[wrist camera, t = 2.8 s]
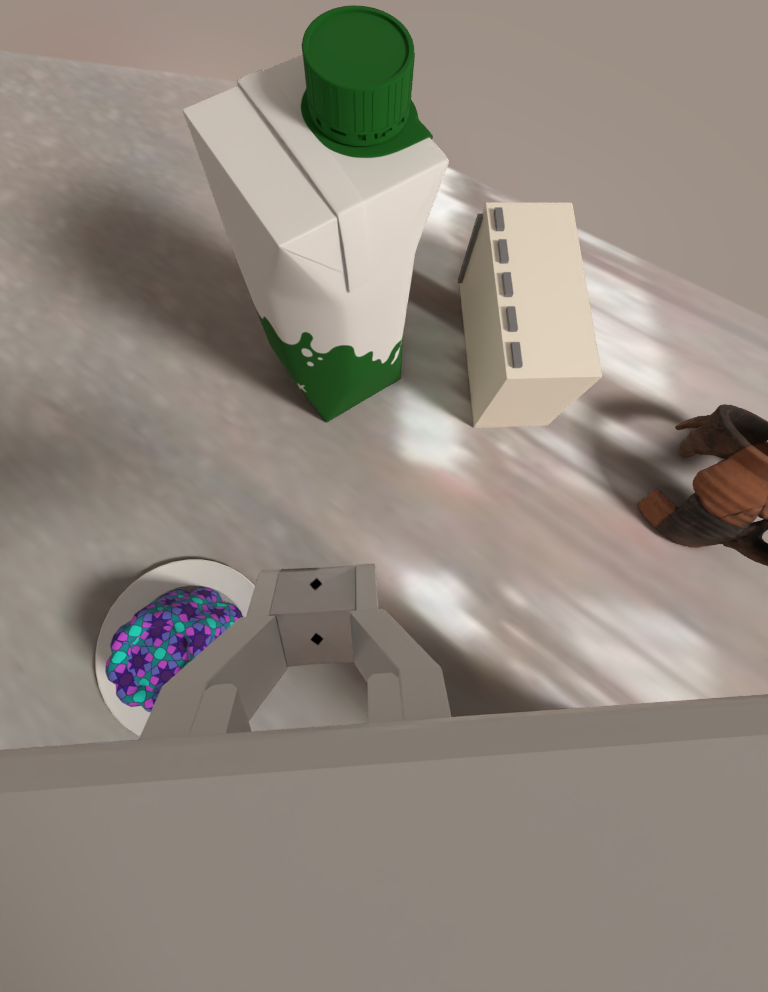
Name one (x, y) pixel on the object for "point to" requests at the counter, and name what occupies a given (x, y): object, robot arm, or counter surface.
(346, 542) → the counter surface
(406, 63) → the soya milk
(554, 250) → the block
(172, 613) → the pudding
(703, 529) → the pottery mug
